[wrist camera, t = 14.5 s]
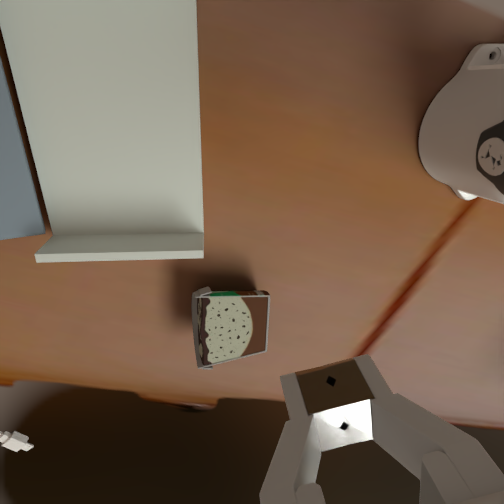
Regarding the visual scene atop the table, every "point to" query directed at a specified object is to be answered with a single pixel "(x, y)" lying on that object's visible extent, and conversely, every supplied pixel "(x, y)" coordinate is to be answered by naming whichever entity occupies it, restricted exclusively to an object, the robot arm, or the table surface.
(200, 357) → the food container
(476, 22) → the table surface
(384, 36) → the table surface
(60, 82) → the tray
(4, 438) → the charging cable
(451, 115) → the robot arm
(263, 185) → the table surface
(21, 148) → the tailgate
